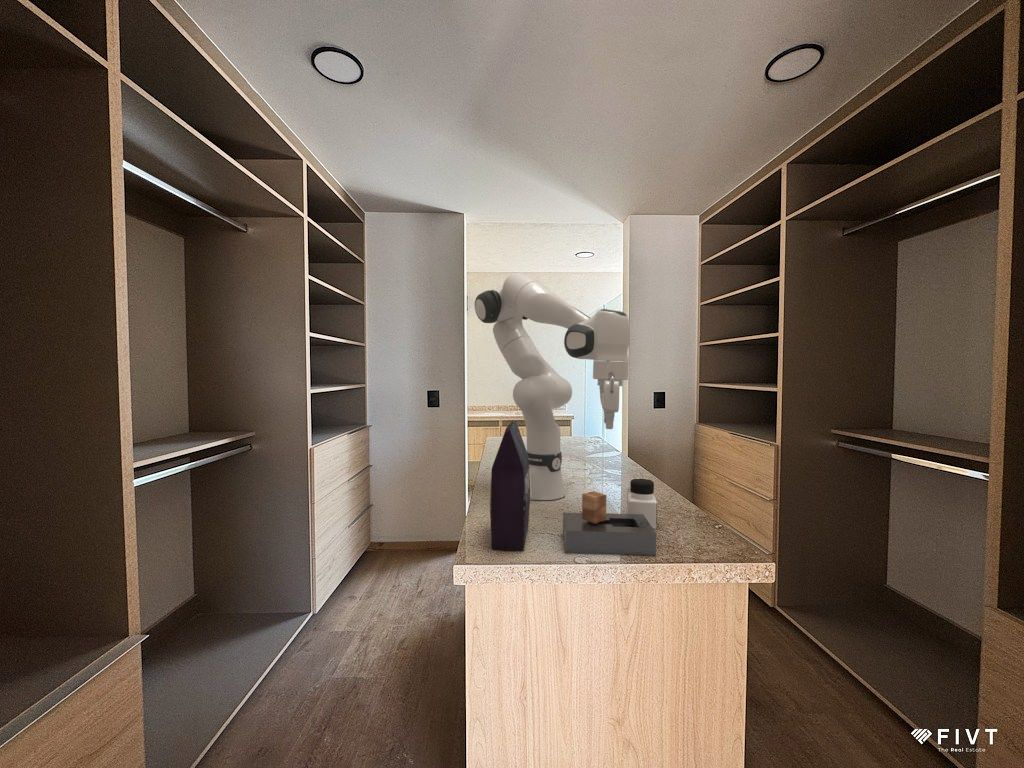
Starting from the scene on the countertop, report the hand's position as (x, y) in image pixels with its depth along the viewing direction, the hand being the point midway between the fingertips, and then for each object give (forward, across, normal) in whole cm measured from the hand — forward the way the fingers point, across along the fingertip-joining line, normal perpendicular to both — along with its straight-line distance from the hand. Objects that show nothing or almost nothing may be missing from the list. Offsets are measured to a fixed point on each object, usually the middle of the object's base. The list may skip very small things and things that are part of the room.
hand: (608, 426), depth 117 cm
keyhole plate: (+26, -11, 0) cm, 29 cm away
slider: (+26, -11, +3) cm, 29 cm away
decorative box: (+27, -12, +23) cm, 37 cm away
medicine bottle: (+27, +4, -10) cm, 29 cm away
